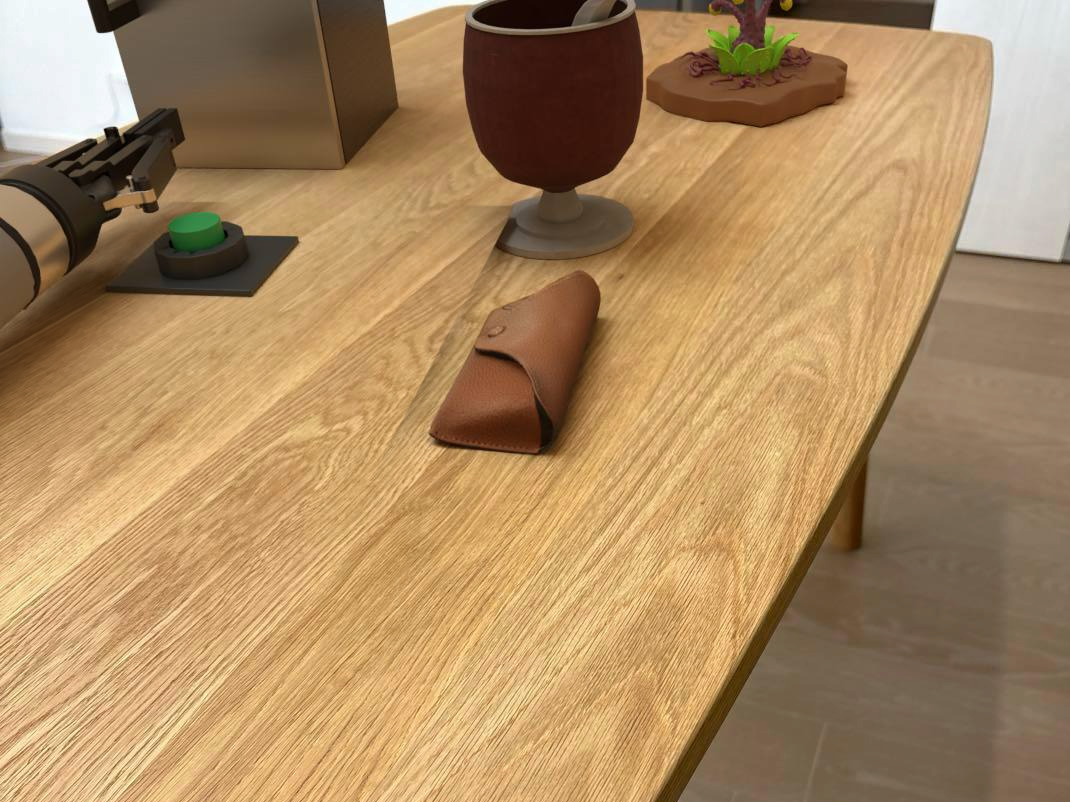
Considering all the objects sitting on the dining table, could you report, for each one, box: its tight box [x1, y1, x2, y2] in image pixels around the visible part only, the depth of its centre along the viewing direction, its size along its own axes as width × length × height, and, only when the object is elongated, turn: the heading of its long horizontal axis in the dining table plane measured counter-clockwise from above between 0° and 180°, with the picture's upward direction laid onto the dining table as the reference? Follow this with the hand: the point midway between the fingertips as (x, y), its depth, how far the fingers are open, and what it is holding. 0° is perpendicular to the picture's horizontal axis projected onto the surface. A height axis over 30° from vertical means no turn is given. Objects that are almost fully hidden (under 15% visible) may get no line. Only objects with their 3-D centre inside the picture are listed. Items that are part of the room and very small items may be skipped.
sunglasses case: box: [428, 269, 602, 455], centre depth 70 cm, size 18×7×7 cm
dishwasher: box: [316, 0, 400, 166], centre depth 107 cm, size 18×20×24 cm
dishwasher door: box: [86, 0, 346, 170], centre depth 97 cm, size 7×20×24 cm, turn 79°
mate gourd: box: [462, 0, 644, 260], centre depth 84 cm, size 16×14×20 cm
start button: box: [167, 211, 225, 251], centre depth 83 cm, size 4×4×2 cm
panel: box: [105, 220, 300, 298], centre depth 85 cm, size 12×10×4 cm
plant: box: [645, 0, 849, 128], centre depth 112 cm, size 20×20×11 cm
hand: (171, 124), depth 93 cm, fingers closed
